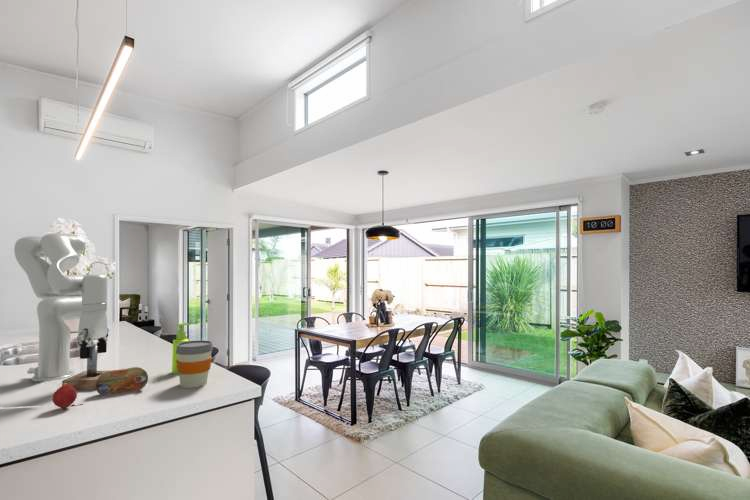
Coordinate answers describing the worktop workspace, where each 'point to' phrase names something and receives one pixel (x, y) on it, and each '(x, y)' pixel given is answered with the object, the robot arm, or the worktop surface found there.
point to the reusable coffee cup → (194, 362)
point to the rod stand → (83, 381)
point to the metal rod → (92, 362)
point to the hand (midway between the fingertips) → (93, 355)
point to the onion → (64, 396)
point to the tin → (121, 381)
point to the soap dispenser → (180, 338)
